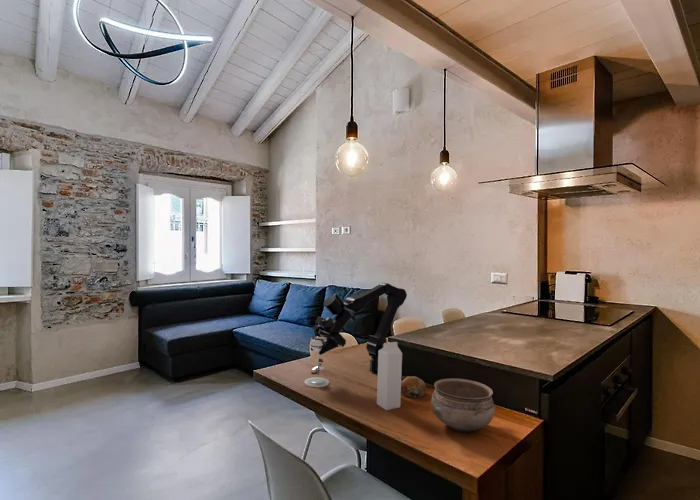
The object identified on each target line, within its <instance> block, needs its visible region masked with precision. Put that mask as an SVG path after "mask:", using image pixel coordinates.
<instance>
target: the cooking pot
mask: <svg viewBox="0 0 700 500" xmlns="http://www.w3.org/2000/svg"><path fill="white" fill-rule="evenodd" d="M433 387H434V390H433V393H432V396H431V400H430V406H431V408H432V411H433V414H434V415H435V416H436V418H437V419H438V420H439V421H440V422H442V423H443V424H445V425H446V426H448V427H449V428H451V430H454V431H456V432H459V431H460V433H471V432H472V431H476V430H477V431H478V430H480V429H482V428H485V427H486V426H488V425H489V424H490V423H491V422H492V420H493V419H494V416H495V412H496V411H495V410H496V409H495V403H494V400H493V396H492V395H493V394H494V392H493V389H492V388H490V386H487V385H486V384H483V383H481V382H478V381H475V380H470V379H466V378H465V379H464V378H441V379H438V380H437V381H435V382H434V383H433Z"/></svg>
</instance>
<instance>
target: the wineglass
mask: <svg viewBox="0 0 700 500" xmlns="http://www.w3.org/2000/svg"><path fill="white" fill-rule="evenodd" d="M326 338H327V337H322V336H315V335H314V336H311V337H310V338H309V339H310V342H309V345H310V349H311V348H312V349H313V351H315V352H316V356H317V357H316V358H317V359H316V361H317V362H316V363H317V365H315V366H312V367H311V370H313V371H316V370H319V371H321V370H324V369H325V368H324V366H322V365H320V366H318V363H319V359H320V354H319V352H320V350H321V348H322V347H323V345H324V344H325V342H326Z"/></svg>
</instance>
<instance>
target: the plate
mask: <svg viewBox="0 0 700 500" xmlns="http://www.w3.org/2000/svg"><path fill="white" fill-rule="evenodd" d="M304 385H305V386H306V387H309V388H325V387H328V386H329V385H330V380H329V379H327V378H325V377H316V376H315V377H309V378H306V379H305V380H304Z"/></svg>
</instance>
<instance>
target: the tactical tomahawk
mask: <svg viewBox="0 0 700 500" xmlns="http://www.w3.org/2000/svg"><path fill="white" fill-rule="evenodd" d="M323 361H324V359H323V358H321V357H319V362H323ZM318 366H322V363H318ZM310 374H311V375H318V374H320V370H315V371H311V373H310Z"/></svg>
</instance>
